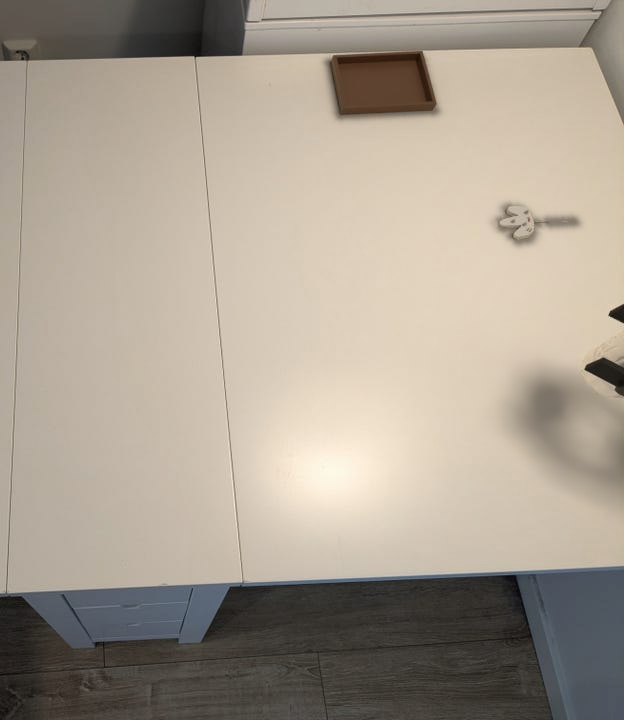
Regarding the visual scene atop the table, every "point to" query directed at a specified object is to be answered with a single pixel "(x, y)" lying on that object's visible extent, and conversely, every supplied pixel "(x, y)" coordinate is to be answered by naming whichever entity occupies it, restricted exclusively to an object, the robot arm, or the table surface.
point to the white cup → (615, 349)
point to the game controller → (520, 221)
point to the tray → (382, 83)
